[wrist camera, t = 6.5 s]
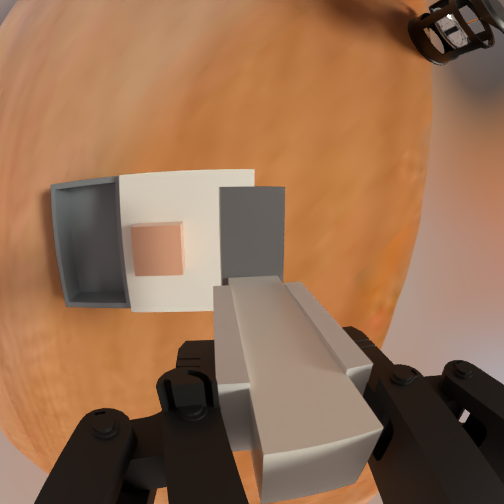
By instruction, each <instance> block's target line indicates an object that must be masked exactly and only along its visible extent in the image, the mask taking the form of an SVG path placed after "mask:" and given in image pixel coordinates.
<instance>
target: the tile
mask: <svg viewBox="0 0 504 504" xmlns="http://www.w3.org/2000/svg"><path fill="white" fill-rule="evenodd" d="M131 238H132V250H133V260H134V269H135V276H171V275H183V274H184V271H185V268H186V265H185V249H184V229H183V221H175V222H153V223H137V224H136V225H134V226H132V227H131Z"/></svg>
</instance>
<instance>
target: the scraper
mask: <svg viewBox="0 0 504 504" xmlns="http://www.w3.org/2000/svg"><path fill="white" fill-rule="evenodd" d="M284 218H285V187H270V186H241V187H219V232H220V269H221V286H225V285H231V291H232V296H233V301H234V306H235V311H236V317H237V322H238V327H239V332H240V337H241V342H242V347H243V351H244V356H245V361H246V366H247V371H248V375H249V380H250V388H249V416H250V451H251V456H252V462H253V467H254V472H255V477H256V482H257V487H258V492H259V497H260V502H261V504H263V503H271V502H278V501H284V500H290V499H295V498H300V497H305V496H310V495H314V494H318V493H322V492H326V491H330V490H334V489H338V488H341V487H344V486H348V485H351V484H354V483H356V481H357V480H358V478H359V476H360V474H361V472H362V471H363V469H364V467H365V465H366V463H367V461H368V459H369V457H370V455H371V453H372V451H373V449H374V447H375V445H376V443H377V441H378V439H379V437H380V434H381V432H382V430H383V428H384V427H383V426H382V424H381V423H380V421H379V420H378V418H377V417H376V416H375V414H374V413H373V411H372V410H371V408H370V407H369V405H368V404H367V403H366V401H365V400H364V398H363V397H362V395H361V394H360V393H359V391H358V390H357V388H356V387H355V385H354V384H353V382H352V381H351V380H350V378H349V377H348V375H347V374H345V372H344V371H343V369H342V368H341V366H340V365H339V363H338V362H337V361H336V359H335V358H334V356H333V355H332V353H331V352H330V351H329V349H328V348H327V346H326V345H325V343H324V342H323V340H322V339H321V338H320V336H319V335H318V333H317V332H316V330H315V329H314V328H313V326H312V325H311V323H310V322H309V320H308V319H307V318H306V316H305V315H304V313H303V312H302V310H301V309H300V308H299V306H298V305H297V303H296V302H295V301H294V299H293V298H292V296H291V295H290V293H289V292H288V291H287V289H286V288H285V286H284V284H283V265H284Z"/></svg>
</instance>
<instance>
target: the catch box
mask: <svg viewBox="0 0 504 504" xmlns="http://www.w3.org/2000/svg"><path fill="white" fill-rule="evenodd" d="M51 207H52V221H53V231H54V240H55V248H56V256H57V262H58V268H59V274H60V280H61V285H62V290H63V295H64V299H65V304H66V307H91V308H131V304H130V298H129V291H128V284H127V277H126V269H125V261H124V251H123V241H122V228H121V213H120V190H119V176H114V177H104V178H96V179H88V180H80V181H73V182H66V183H59V184H53V185H51Z"/></svg>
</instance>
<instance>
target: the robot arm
mask: <svg viewBox="0 0 504 504" xmlns="http://www.w3.org/2000/svg"><path fill="white" fill-rule="evenodd" d="M284 286H285V288H286V289H287V291H288V292H289V293H290V295H291V296H292V298H293V299H294V301H295V302H296V303H297V305H298V306H299V308H300V309H301V310H302V312H303V313H304V315H305V316H306V318H307V319H308V320H309V322H310V323H311V325H312V326H313V328H314V329H315V330H316V332H317V333H318V335H319V336H320V338H321V339H322V340H323V342H324V343H325V345H326V346H327V348H328V349H329V351H330V352H331V353H332V355H333V356H334V358H335V359H336V361H337V362H338V363H339V365H340V366H341V368H342V369H343V371H344V372H345V374H347V375H348V377H349V378H350V380H351V381H352V382H353V384H354V385H355V387H356V388H357V390H358V391H359V393H360V394H361V395H362V397H363V398H364V400H365V401H366V403H367V404H368V405H369V407H370V408H371V410H372V411H373V413H374V414H375V416H376V417H377V418H378V420H379V421H380V423H381V424H382V426H383V427H384V428H383V430H382V432H381V434H380V437H379V439H378V441H377V443H376V445H375V447H374V449H373V451H372V453H371V455H370V457H369V459H368V464H369V466H370V469H371V472H372V474H373V477H374V480H375V482H376V485H377V488H378V490H379V493H380V496H381V498H382V501H383V504H504V385H503V384H502V383H500V382H499V381H497V380H496V379H494V378H493V377H491V376H489V375H488V374H487V373H485V372H483V371H482V370H481V369H479V368H478V367H476V366H475V365H473V364H471V363H469V362H466V361H463V360H454V361H450V362H448V363H447V364H446V365H445V367H444V370H443V372H442V375H438V376H426V377H423V375H422V374H421V373H420V372H419V371H417V370H416V369H415V368H412V367H410V366H407V365H401V364H397V365H394V364H393V363H392V362H391V361H390V360H389V359H388V358H387V357H386V356H385V355H384V354H383V353H382V352H381V351H380V350H379V348H378V347H377V346H375V344H374V343H373V342H372V341H371V340H370V341H369V338H368V337H367V336H366V335H365V334H364V333H363V332H362V331H360V330H358V329H356V328H354V327H352V326H349V327H341V326H340V325H339V324H338V323H337V322H336V321H335V319H334V318H333V317H332V316H331V315H330V314H329V313H328V312H327V310H326V309H325V308H324V307H323V306H322V305H321V304H320V303H319V301H318V300H317V299H316V298H315V297H314V296H313V295H312V294H311V293H310V291H309V290H308V289H307V288H306V287H305V286H304V285H303V284H302V283H301V282H287V283H284ZM213 312H214V340H199V341H185V342H184V344H183V345H182V346H181V347H180V348H179V350H178V355H177V362H176V368H175V369H172V370H170V371H168V372H166V373H164V374H163V375H162V376H161V377H160V378H159V379H158V381H157V384H156V389H157V393H158V396H159V400H160V404H161V408H162V411H161V412H159V413H157V414H155V415H153V416H149V417H145V418H139V419H133V420H129V417H128V416H126V415H125V414H124V413H123V412H121V411H119V410H116V409H111V408H102V409H97V410H93V411H92V412H90V413H88V414H86V415H85V416H84V417H83V418H82V419H81V420H80V422H79V424H78V425H77V427H76V429H75V430H74V432H73V434H72V435H71V437H70V439H69V441H68V442H67V444H66V446H65V447H64V449H63V451H62V453H61V454H60V456H59V458H58V460H57V461H56V463H55V465H54V467H53V469H52V470H51V472H50V474H49V476H48V478H47V480H46V482H45V483H44V485H43V487H42V489H41V491H40V493H39V495H38V497H37V499H36V501H35V503H34V504H154V500H155V495H156V491H157V488H163V487H167V491H168V501H169V504H249V503H248V500H247V497H246V494H245V491H244V488H243V485H242V482H241V479H240V476H239V473H238V470H237V466H236V463H235V460H234V456H233V453H232V451H244V450H250V416H249V388H250V380H249V375H248V371H247V366H246V361H245V356H244V351H243V347H242V342H241V337H240V332H239V327H238V322H237V317H236V311H235V306H234V301H233V296H232V291H231V285H225V286H213ZM465 409H466V410H467V411H468V412H470V415H469V417H468V418H467V420H466V422H465V423H461V422H459V419H460V417H461V416H462V414H463V412H464V410H465Z"/></svg>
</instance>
